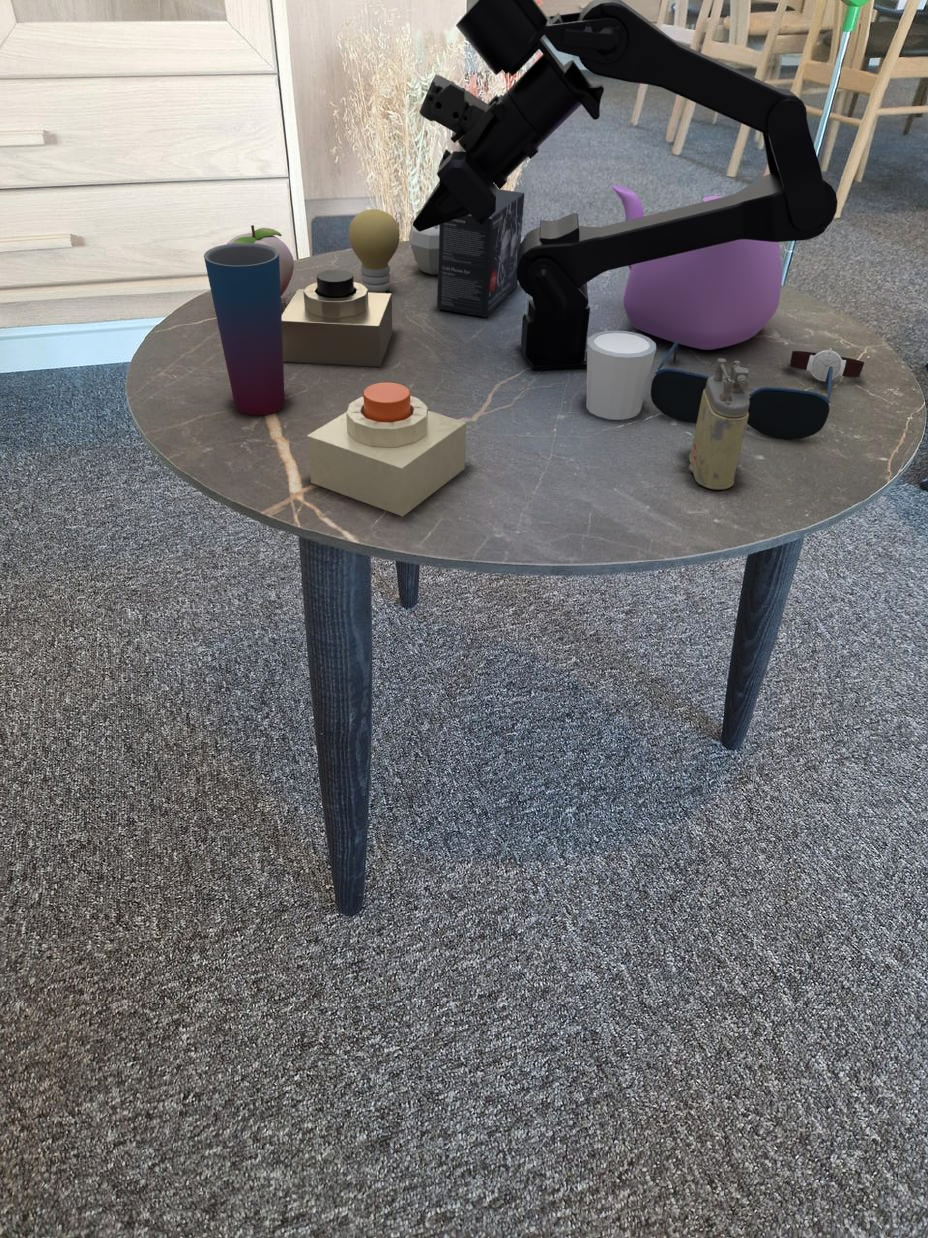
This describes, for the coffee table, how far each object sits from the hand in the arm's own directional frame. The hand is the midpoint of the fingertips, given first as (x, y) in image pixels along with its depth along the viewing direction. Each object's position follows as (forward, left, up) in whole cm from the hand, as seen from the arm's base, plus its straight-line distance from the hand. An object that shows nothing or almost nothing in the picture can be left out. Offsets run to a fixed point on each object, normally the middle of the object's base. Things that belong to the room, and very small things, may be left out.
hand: (415, 227), depth 98 cm
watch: (-44, +12, -14) cm, 48 cm away
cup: (+18, +12, -14) cm, 25 cm away
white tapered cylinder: (-18, +17, -14) cm, 28 cm away
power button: (+6, +28, -7) cm, 29 cm away
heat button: (+9, -2, -7) cm, 12 cm away
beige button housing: (+6, +28, -14) cm, 32 cm away
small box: (-10, -16, -14) cm, 24 cm away
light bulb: (+3, -20, -14) cm, 25 cm away
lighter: (-23, +31, -14) cm, 41 cm away
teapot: (-34, -3, -14) cm, 37 cm away
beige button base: (+9, -2, -14) cm, 16 cm away
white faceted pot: (-6, -27, -14) cm, 31 cm away
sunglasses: (-32, +17, -14) cm, 39 cm away
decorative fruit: (+18, -15, -14) cm, 27 cm away
